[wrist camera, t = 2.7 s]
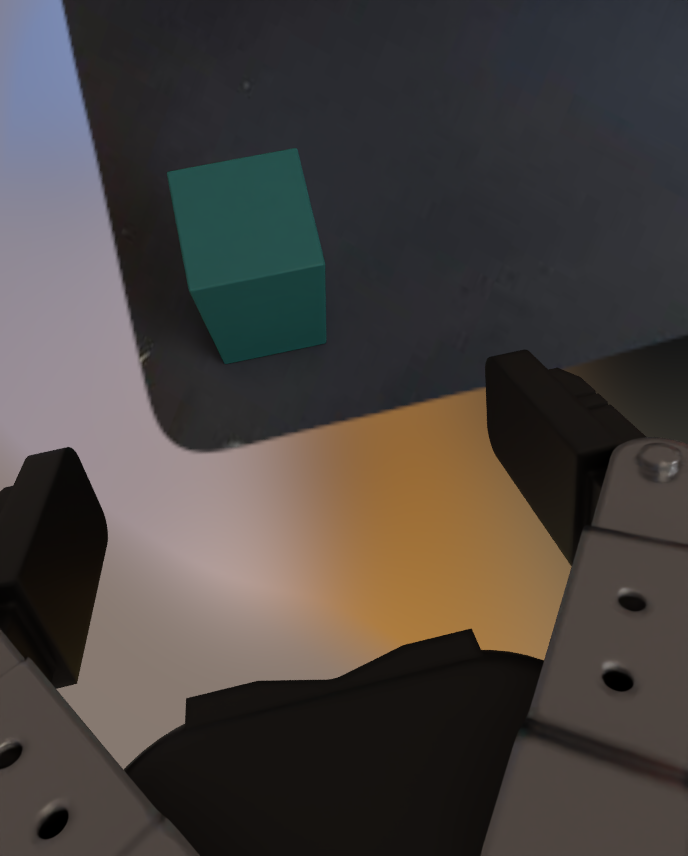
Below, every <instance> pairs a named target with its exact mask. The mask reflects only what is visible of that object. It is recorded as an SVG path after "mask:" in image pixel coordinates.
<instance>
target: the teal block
mask: <svg viewBox="0 0 688 856" xmlns="http://www.w3.org/2000/svg"><path fill="white" fill-rule="evenodd" d="M167 178H168V183H169V188H170V194H171V199H172V204H173V210H174V215H175V220H176V226H177V231H178V236H179V241H180V247H181V252H182V257H183V263H184V268H185V273H186V279H187V284H188V289H189V292H190V294H191V296H192V298H193V300H194V302H195V304H196V306H197V308H198V310H199V312H200V315H201V317H202V319H203V321H204V323H205V325H206V327H207V329H208V331H209V333H210V335H211V337H212V339H213V341H214V343H215V345H216V347H217V350H218V352H219V354H220V356H221V358H222V360H223V362H224V364H229V363H234V362H239V361H243V360H248V359H253V358H258V357H262V356H267V355H272V354H277V353H282V352H286V351H291V350H296V349H301V348H306V347H310V346H315V345H320V344H325V343H326V291H325V261H324V257H323V253H322V249H321V245H320V240H319V236H318V232H317V228H316V224H315V220H314V216H313V212H312V208H311V204H310V199H309V195H308V191H307V187H306V183H305V179H304V175H303V171H302V167H301V162H300V158H299V154H298V150H297V149H296V148H293V149H287V150H282V151H277V152H271V153H266V154H260V155H255V156H250V157H244V158H239V159H233V160H228V161H223V162H217V163H212V164H206V165H201V166H196V167H190V168H185V169H180V170H174V171H169V172H167Z"/></svg>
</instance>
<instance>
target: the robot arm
mask: <svg viewBox="0 0 688 856" xmlns="http://www.w3.org/2000/svg"><path fill="white" fill-rule="evenodd" d="M485 377H486V405H487V428H488V434H489V439H490V442H491V446H492V448H493V451H494V453H495V455H496V457H497V458H498V460H499V461H500V462H501V464H502V465H503V467H504V468H505V470H506V471H507V473H508V474H509V476H510V477H511V479H512V480H513V481H514V483H515V484H516V486H517V487H518V489H519V490H520V492H521V493H522V495H523V496H524V498H525V499H526V501H527V502H528V503H529V505H530V506H531V508H532V509H533V511H534V512H535V514H536V515H537V516H538V518H539V519H540V521H541V522H542V524H543V525H544V527H545V528H546V530H547V531H548V533H549V534H550V536H551V537H552V539H553V540H554V541H555V543H556V544H557V546H558V547H559V549H560V550H561V552H562V553H563V555H564V556H565V557H566V559H567V560H568V562H569V563H570V565H571V566H572V568H571V571H570V574H569V578H568V581H567V585H566V588H565V591H564V595H563V598H562V602H561V605H560V608H559V612H558V615H557V619H556V622H555V625H554V629H553V632H552V636H551V639H550V642H549V646H548V649H547V653H546V656H545V659H544V660H540V659H537V658H534V657H531V656H528V655H523V654H518V653H513V652H507V651H497V650H481V649H480V647H479V644H478V642H477V640H476V638H475V635H474V633H473V631H472V629H468V630H464V631H459V632H455V633H451V634H448V635H443V636H439V637H435V638H431V639H427V640H423V641H419V642H415V643H411V644H406V645H403V646H401V647H399V648H397V649H395V650H393V651H391V652H389V653H387V654H385V655H383V656H381V657H379V658H377V659H375V660H373V661H371V662H369V663H367V664H365V665H363V666H360V667H358V668H357V669H355V670H352V671H350V672H348V673H346V674H345V675H343V676H340V677H338V678H334V679H329V680H287V681H285V680H281V681H256V682H252V683H248V684H243V685H239V686H235V687H231V688H227V689H223V690H219V691H215V692H211V693H207V694H203V695H198V696H195V697H190V698H187V699H186V716H185V724H183V725H181V726H180V727H178V728H176V729H174V730H172V731H171V732H169V733H168V734H166V735H164V736H163V737H161V738H160V739H159V740H157V741H156V742H154V743H153V744H152V745H151V746H149V747H148V748H147V749H146V750H144V751H143V752H142V753H141V754H139V755H138V756H137V757H136V758H135V759H134V760H133V761H132V762H131V763H130V764H129V765H128V766H127V767H126V768H125V769H124V770H123V769H122V768H121V767H120V765H119V764H118V763H117V762H116V761H115V759H114V758H113V757H112V756H111V754H110V753H109V752H108V751H107V750H106V749H105V747H104V746H103V745H102V744H101V742H100V741H99V740H98V739H97V738H96V736H95V735H94V734H93V733H92V732H91V730H90V729H89V728H88V727H87V726H86V724H85V723H84V722H83V721H82V720H81V718H80V717H79V716H78V715H77V714H76V712H75V711H74V710H73V709H72V708H71V707H70V705H69V704H68V703H67V702H66V701H65V699H63V697H62V696H61V695H60V693H59V692H58V691H57V690H56V689H57V688H61V687H65V686H69V685H73V684H77V681H78V676H79V671H80V667H81V662H82V658H83V653H84V649H85V644H86V639H87V635H88V630H89V626H90V621H91V616H92V612H93V607H94V603H95V598H96V593H97V589H98V584H99V580H100V575H101V570H102V566H103V561H104V556H105V552H106V547H107V542H108V531H107V524H106V519H105V516H104V513H103V510H102V508H101V506H100V503H99V501H98V499H97V497H96V494H95V492H94V490H93V488H92V486H91V483H90V481H89V479H88V477H87V474H86V472H85V470H84V468H83V466H82V463H81V461H80V459H79V457H78V455H77V453H76V452H75V451H74V450H73V449H72V448H70V447H67V448H62V449H57V450H53V451H48V452H44V453H39V454H34V455H30V456H28V457H27V458H26V459H25V461H24V464H23V466H22V468H21V470H20V472H19V474H18V477H17V479H16V481H15V483H14V485H13V486H10V487H6V488H4V489H3V490H1V491H0V856H688V444H685V443H683V442H680V441H676V440H672V439H666V438H656V437H646V436H645V435H644V434H643V433H641V432H640V431H639V430H638V429H637V428H636V427H635V426H634V425H633V424H631V423H630V422H629V421H628V420H627V419H626V418H625V417H624V416H623V415H621V414H620V413H619V412H618V411H617V410H616V409H614V407H613V406H612V405H608V403H607V401H606V400H605V399H604V398H603V397H602V396H601V395H599V394H596V393H595V390H594V389H593V388H592V387H591V386H590V385H588V384H587V383H586V382H585V381H584V380H583V379H582V378H581V377H579V376H576V375H574V374H571V373H569V372H567V371H564V370H562V369H559V368H554V369H549V370H548V369H547V368H546V367H545V366H544V365H543V364H542V363H541V362H540V361H539V360H538V359H536V358H535V357H534V356H533V355H532V354H531V353H530V352H529V351H528V350H520V351H516V352H511V353H506V354H502V355H497V356H492V357H489V358H488V359H487V361H486V366H485Z"/></svg>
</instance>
